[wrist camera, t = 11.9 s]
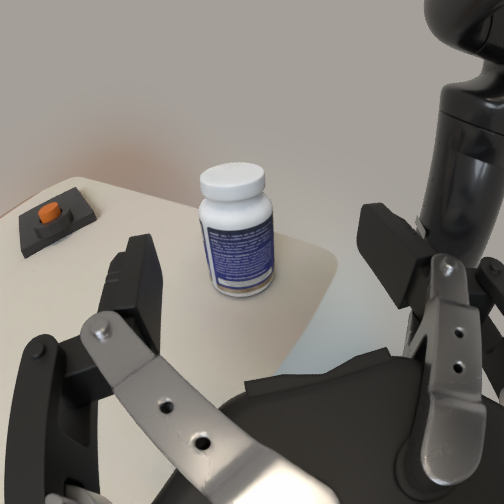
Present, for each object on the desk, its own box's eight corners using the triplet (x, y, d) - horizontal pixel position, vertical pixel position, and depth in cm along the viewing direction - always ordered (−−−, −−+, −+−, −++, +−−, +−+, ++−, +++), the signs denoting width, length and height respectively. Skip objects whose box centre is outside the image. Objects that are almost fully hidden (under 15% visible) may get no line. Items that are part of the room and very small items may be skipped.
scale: (77, 193, 46) (73, 178, 44) (98, 222, 37) (92, 203, 35) (21, 222, 40) (15, 208, 38) (25, 262, 31) (16, 244, 29)
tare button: (59, 209, 36) (56, 199, 35) (62, 216, 34) (59, 206, 33) (41, 218, 34) (37, 209, 34) (43, 226, 32) (38, 217, 32)
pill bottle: (287, 275, 27) (288, 170, 21) (239, 310, 24) (225, 198, 18) (244, 249, 30) (236, 153, 24) (198, 277, 27) (177, 176, 21)
